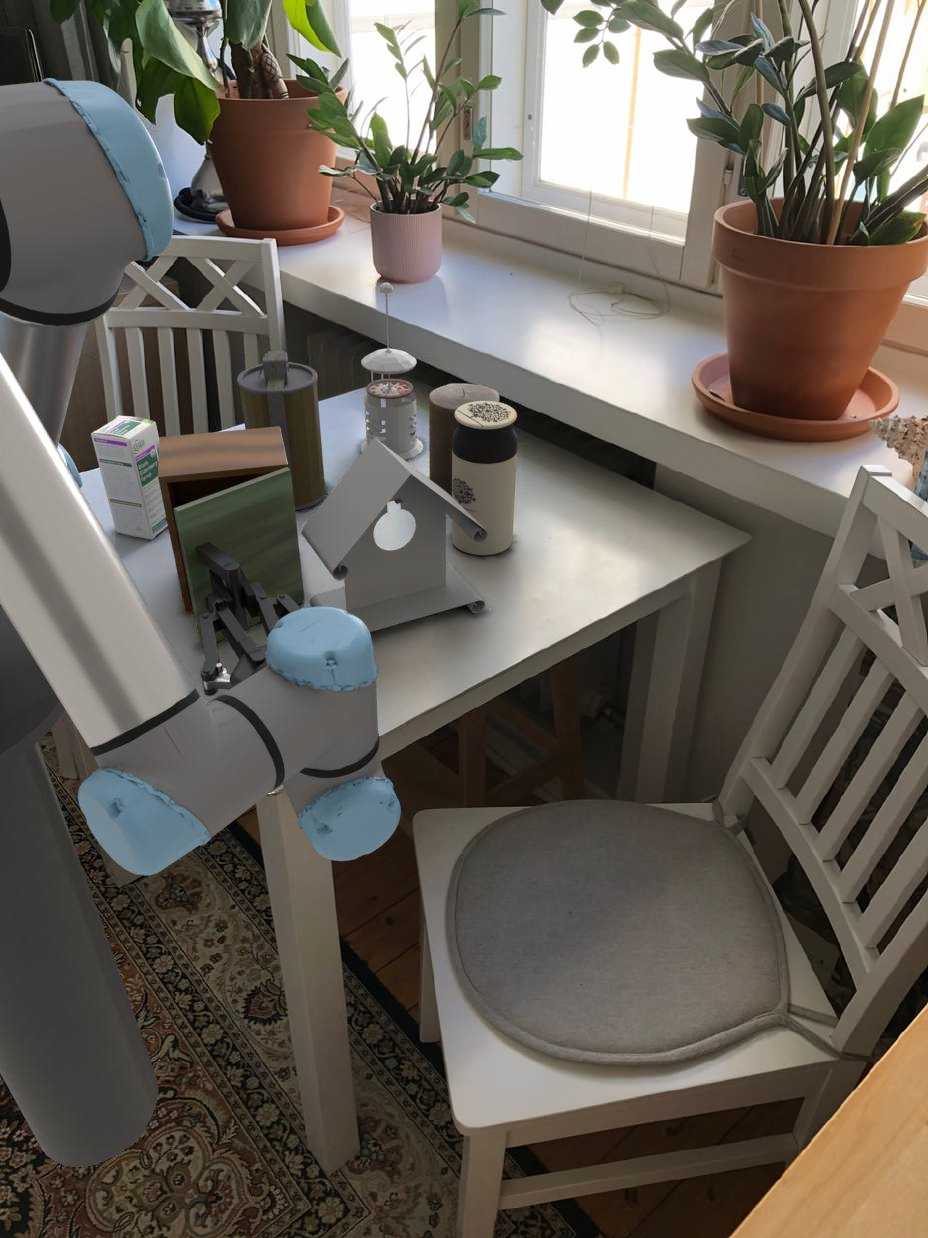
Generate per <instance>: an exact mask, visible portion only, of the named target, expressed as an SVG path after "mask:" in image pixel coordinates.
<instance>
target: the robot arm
mask: <svg viewBox="0 0 928 1238" xmlns="http://www.w3.org/2000/svg"><path fill="white" fill-rule="evenodd" d="M174 208H175V207H174V200H173V194H172V190H171V185H170V181H169V178H168V175H167V173H166V170H165V167H164V163H163V160H162V158H161V155H160V153H159V151H158V149H157V146H156V144H155V142H154V140H153V138H152V135H151V134H150V133H149V131H148V129H147V128H146V126H145V124H144V123H143V121H142V119H141V118H140V116H139V115H138V114H137V112H136V111H135V110H134V109H133V108H132V106H131V105H130V104H129V102H127V101H126V100H125V99H124V98H123V97H122V96H121V95H120V94H118V93H117V92H116V91H114V90H113V89H112V88H111V87H108V86H106V85H104V84H102V83H100V82H96V81H93V80H57V79H55V78H52V77H49V78H48V77H47V78H45V79H42V80H41V81H37V82H26V83H17V84H6V85H0V607H2V608H3V610H4V611H5V613H6V614H7V616H8V618H9V619H10V621H11V623H12V624H13V626H14V627H15V629H16V631H17V632H18V634H19V636H20V637H21V639H22V640H23V642H24V644H25V645H26V647H27V648H28V650H29V652H30V653H31V655H32V657H33V658H34V660H35V661H36V663H37V665H38V666H39V668H40V669H41V671H42V673H43V674H44V676H45V678H46V679H47V681H48V682H49V684H50V686H51V687H52V689H53V690H54V692H55V694H56V695H57V697H58V699H59V700H60V702H61V703H62V705H63V707H64V708H65V712H66V713H67V715H68V716H69V718H70V720H71V722H72V723H73V724H74V726H75V728H76V730H77V731H78V733H79V735H80V736H81V738H82V740H83V741H84V742H85V744H86V745H87V747H88V749H89V751H90V753H91V754H92V756H93V757H94V760H95V762H96V764H97V766H98V768H96V769H95V771H93V772H92V773H91V775H90V776H89V777H87V778H86V779H84V780H83V782H82V783H81V785H79V787H78V791H77V799H78V805H79V808H80V810H81V813H82V814H83V815H84V817H85V819H86V824H87V827H88V828H89V830H90V832H91V834H92V835H93V837H94V838H95V840H96V841H97V842H98V844H99V845H100V846H101V847H102V849H103V850H104V851H105V852H106V854H107V855H108V856H109V857H110V858H111V859H112V860H113V861H114V862H115V863H116V864H117V865H119V866H120V867H121V868H122V869H124V870H126V872H127V871H128V872H129V873H131V874H133V875H139V876H144V877H145V876H150V877H151V876H153V875H155V874H158V873H160V872H162V871H163V870H164V869H166V868H167V867H169V866H170V865H172V864H173V863H175V862H177V861H178V860H180V859H181V858H183V857H184V856H185V855H188V853H190V852H192V851H193V850H195V849H196V848H197V847H199V846H201V847H202V846H205V845H207V843H208V842H210V841H211V840H212V838H213V837H214V836H215V835H217V834H218V833H219V832H221V831H222V830H223V829H224V828H225V827H227V826H228V825H230V824H231V823H232V822H234V821H235V820H236V819H238V818H239V817H241V816H242V814H243V815H244V813H245V812H247V811H248V810H250V809H251V808H252V807H253V806H254V805H256V804H257V803H259V802H260V801H261V800H262V799H264V798H265V797H266V796H268V794H270V793H272V792H273V791H275V790H276V789H277V788H279V787H281V786H282V787H283V789H284V791H285V793H286V795H287V798H288V800H289V802H290V804H291V807H292V809H293V812H294V814H295V815H296V818H297V824H298V827H299V829H300V830H301V831H302V832H303V833H304V835H305V836H306V838H307V840H308V842H309V843H310V845H311V846H312V848H313V850H314V851H315V852H316V853H317V854H318V855H320V856H321V857H323V858H325V859H327V860H331V861H337V862H345V861H353V860H356V859H358V858H359V857H360V858H361V857H362V856H364V855H370V854H371V853H373V852H374V851H376V850H378V849H379V848H380V847H382V846H383V845H384V844H385V843H386V842H388V840H389V839H390V838H391V837H392V835H393V834H394V833H395V831H396V830H397V827H398V825H399V823H400V819H401V815H402V809H401V804H400V800H399V799H398V796H397V795H396V793H395V790H394V784H393V782H392V781H391V780H390V779H389V778H388V777H386V775H385V772H384V770H383V766H382V755H381V741H380V733H379V723H378V722H379V720H378V699H377V697H378V695H377V693H378V692H377V678H378V675H379V673H378V668H377V665H376V657H375V649H374V645H373V640H372V636H371V632H369V630H368V628H367V626H366V625H365V624H364V622H363V621H362V620H361V619H359V618H358V617H356V616H354V615H353V614H349V613H348V612H347V611H345V610H342V609H338V608H333V607H312V606H310V607H304V608H302V607H301V606H300V605H299V604H296V603H295V602H294V601H293V600H292V599H291V597H290V596H289V595H288V594H286V593H280V594H278V595H277V596H276V598H271V597H269V596H268V595H266V593H265V592H264V590H263V588H262V587H261V585H260V583H258V582H253V583H249V582H248V580H247V578H246V577H245V575H244V573H243V571H242V569H241V568H240V566H239V568H240V575H241V581H242V588H243V594H244V601H245V607H246V609H247V610H248V612H249V614H250V616H251V618H253V617H257V616H260V622H259V623H260V625H261V626H262V627H263V631H264V633H265V637H266V638H267V639H266V644H262V645H257V643H256V642H255V640H254V639H253V638H252V637H251V636H250V637H249V635H248V634H247V632H245V631H244V629H243V628H242V627H241V625H240V624H239V622H238V621H237V619H236V618H235V611H234V605H233V600H232V598H231V596H230V594H229V592H228V590H227V589H226V587H225V585H224V583H223V581H222V579H221V577H220V576H218V575H217V574H216V573H214V572H213V571H212V570H211V569H210V570H209V574H210V580H211V586H212V591H213V593H210V594H209V595H208V600H209V605H210V609H211V611H212V614H210V613H203V614H201V615H200V616H199V621H200V627H201V634H202V640H203V647H204V648H203V647H202V648H203V653H204V659H205V660H204V662H203V665H202V667H201V669H200V671H199V673H200V678H201V683H202V687H203V693H204V695H205V696H207V697H213V696H215V695H216V694H218V692H219V690H225V692H223V693H222V694H220V695H218V696H217V697H215V698H213V699H211V700H210V701H208V702H207V703H206V702H205V701H204V699H203V698H202V696H201V695H200V693H199V691H198V689H197V688H196V686H195V684H194V682H193V680H192V678H191V677H190V675H189V673H188V672H187V670H186V668H185V666H184V665H183V663H182V661H181V660H180V658H179V656H178V655H177V653H176V651H175V650H174V648H173V646H172V644H171V643H170V641H169V639H168V637H167V636H166V634H165V633H164V630H163V628H162V627H161V626H160V624H159V622H158V620H157V619H156V617H155V615H154V613H153V611H152V610H151V608H150V607H149V605H148V603H147V602H146V599H145V598H144V596H143V595H142V592H141V591H140V588H139V587H138V586H137V585H136V582H135V581H134V579H133V577H132V576H131V574H130V572H129V570H128V569H127V567H126V565H125V563H124V562H123V560H122V558H121V556H120V555H119V554H118V551H117V550H116V547H114V544H113V543H112V541H111V540H110V537H109V536H108V534H107V533H106V531H105V529H104V527H103V526H102V524H101V522H100V521H99V519H98V516H96V514H95V512H94V510H93V508H92V507H91V504H90V503H89V502H88V500H87V497H86V495H85V493H84V492H83V491H82V489H81V488H82V487H83V481H82V479H81V475H80V472H79V470H78V468H77V466H76V464H75V462H74V460H73V458H72V457H71V455H70V454H69V452H68V451H67V450H66V449H65V447H64V446H63V445H62V444H61V443H60V439H61V436H62V431H63V427H64V423H65V418H66V415H67V410H68V406H69V403H70V398H71V394H72V390H73V387H74V382H75V378H76V374H77V371H78V366H79V363H80V359H81V354H82V349H83V346H84V342H85V338H86V334H87V331H88V326H89V324H91V323H93V322H96V321H97V320H98V319H100V318H102V317H103V316H105V315H106V314H107V313H108V312H109V311H110V310H111V308H112V307H113V306H114V304H115V302H116V300H117V298H118V295H119V292H120V288H121V284H122V281H123V277H124V275H125V271H126V267H127V266H128V265H130V264H131V263H132V262H137V261H141V262H150V261H151V260H153V258H154V257H156V256H158V255H161V254H162V253H164V251H165V250H166V249H167V248H168V247H169V245H170V244H171V241H172V238H173V235H174V228H175V227H174V226H175V209H174ZM258 613H259V615H258ZM218 631H221V633H222V634H223V636H224V637H225V638H224V639H225V640H226V642H227V644H228V645H229V647H230V648H231V650H232V651H233V653H234V654H235V656H236V657H237V659H238V661H237V663H236V665H235V667H234V668H233V670H232V672H231V673H230V674H229V673H228V671H227V668H226V667H224V666H223V663H221V661H220V655H219V649H218V644H217V643H218V642H216V637H215V633H216V632H218Z"/></svg>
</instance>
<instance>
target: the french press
mask: <svg viewBox="0 0 928 1238" xmlns="http://www.w3.org/2000/svg"><path fill="white" fill-rule="evenodd" d="M393 292H394V287H393V285H392V284H391V283H389V282H382V283H381V284H380V285H379V293H381V294H384V295H385V296H384V297H385V318H386V323H385V324H386V342H387V343H386V345H387V346H386V347H387V348H382V349H381V348H380V349H377V350H375V351H373V352H371V353H369V354H367V355H365V356H364V357H363V358H362V359H361V361H360V362H361V366H362V367H363V368H364V369H366V370H368V371H369V372H370V375H371V377H370V378H371V379H370V380H371V382H369V383H368V384H367V385H366V386H365V392H366V394H365V395H364V398H363V402H364V403H363V404H364V415H365V416H364V419H365V420H364V422H365V440H364V441H363V442H362V444H361V445H360V452H361V454H362V453H363V451H364V450H365V449H366V448H367V446H368V445H369V444H370V443H371V441H372V440H373V439H374V437H375V438H376V439H377V440H379V441H380V442H381V443H383V444H384V445H385V446H387V447H388V448H389V449H390V450H392V451H393V452H394V453H396V454H397V455H398V456H400V457H401V458H402V459H404V460H405V461H406V460H409V459H412V458H413V459H414V458H415V457H416V456H418V455H420V454H421V453H422V451H423V450H424V445H423V442H422V441H421V440H420V439H419V438H418V436H417V434H418V433H417V432H418V431H417V430H418V429H417V396H416V393H415V392H413V391H414V390H415V387H414V385H413V384H412V383H411V382H410V381H407V380H404V379H398V378H397V379H396V378H391V375H398V374H403V373H407V372H409V371H412V370H413V369H414V368H415V367H416V365H417V363H418V362H417V359H416V357H414V356H412V355H411V354H409V353H408V352H406V351H404V350H400V349H395V348H392V347H391V348H390V338H389V337H390V336H389V334H390V333H389V305H388V294H390V293H393ZM374 374H378V375H379V374H380V375H381V379H376V380H374V376H373V375H374ZM384 375H388V376H387V377H388V378H384ZM404 398H410V399H412V400H413V401H408V400H404V401H402V399H404ZM382 400H384V402H385V407H384V406H382ZM367 413H368V414H367ZM383 422H384V424H383Z"/></svg>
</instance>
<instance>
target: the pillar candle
mask: <svg viewBox="0 0 928 1238" xmlns="http://www.w3.org/2000/svg"><path fill="white" fill-rule="evenodd" d="M428 398H429V399H428V405H429V408H428V414H429V415H428V418H429V419H428V426H429V428H428V433H429V434H428V435H429V436H428V437H429V439H428V440H429V442H428V443H429V444H428V445H429V446H428V452H429V454H428V456H429V457H428V458H429V477H428V478H429V479H430V480H431V481H433V482H434V483H435V484H437V485H438V486H439V487H440V488H442V489H443V490H444V491H446V492H447V493H448V494H449V495H450V496H451V497H452V437H453V434H454V433H455V431H456V429H457V427H458V423H457V420H456V418H455V411H456V409H457V408H458V407H460V406H461V405H464V404H466V403H470V402H475V401H494V402H499V403H500V393H499V392H498V391H496V390H495V389H493V388H490V387H488V386H485V385H484V386H483V385H480V384H471V383H448V384H446V385H443V386H440V387H437V388H434V389H433V390H432V391H431V392H430V393H429V396H428Z"/></svg>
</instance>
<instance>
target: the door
mask: <svg viewBox="0 0 928 1238" xmlns="http://www.w3.org/2000/svg"><path fill="white" fill-rule="evenodd" d="M174 514H175V519H176V524H177V529H178V534H179V539H180V545H181V550H182V555H183V560H184V565H185V570H186V575H187V580H188V585H189V590H190V596H191V601H192V606H193V611H192V612H193V615H194V622H195V625H196V632H197V637H198V642H199V645H200V646H201V647H202V649H204V647H203V640H202V634H201V627H200V621H199V616H200V615H201V614H203V613H210V614H212V611H211V609H210V605H209V600H208V595H209V594H210V593H213V591H212V586H211V580H210V574H209V570H210V569H211V570H212V571H213V572H214V573H216V574H217V575H218V576H220V577H221V579H222V581H223V583H224V585H225V587H226V589H227V590H228V592H229V594H230V596H231V598H232V600H233V605H234V611H235V618H236V619H237V621H238V622H239V624H240V625H241V627H242V628H243V629H244V631H245V632H246V633H247V632H248V631H249V629H250V627H252V626H254V625H256V624H259V623H260V616H257V617H253V618H251V616H250V614H249V612H248V610H247V609H246V607H245V601H244V594H243V588H242V581H241V575H240V568H241V569H242V571H243V573H244V575H245V577H246V578H247V580H248V582H249V583H253V582H258V583H260V585H261V587H262V588H263V590H264V592H265V593H266V595H268V596H269V597H271V598H276V596H277V595H278V594H280V593H286V594H288V595H289V596H290V597H291V599H292V600H293V601H294V602H295V603H296V604H297V605H299V604H301V603H303V602H305V601H306V600H305V592H304V591H305V590H304V582H303V574H302V573H303V571H302V561H301V553H300V543H299V534H298V525H297V515H296V511H295V505H294V496H293V487H292V478H291V470H290V469H289V468H287V467H286V468H283V469H280V470H277V471H275V472H272V473H269V474H266V475H264V476H261V477H258V478H255V479H253V480H250V481H247V482H245V483H242V484H239V485H236V486H234V487H231V488H228V489H225V490H223V491H220V492H217V493H215V494H212V495H209V496H206V497H204V498H201V499H198V500H195V501H193V502H190V503H187V504H184V505H182V506H179V507H176V508H174ZM239 566H240V568H239ZM258 615H259V613H258ZM215 637H216V643H218V642H220V641H222V640H224V639H225V637H224V636H223V634H222V633H221V631H218V632H216V633H215Z"/></svg>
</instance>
